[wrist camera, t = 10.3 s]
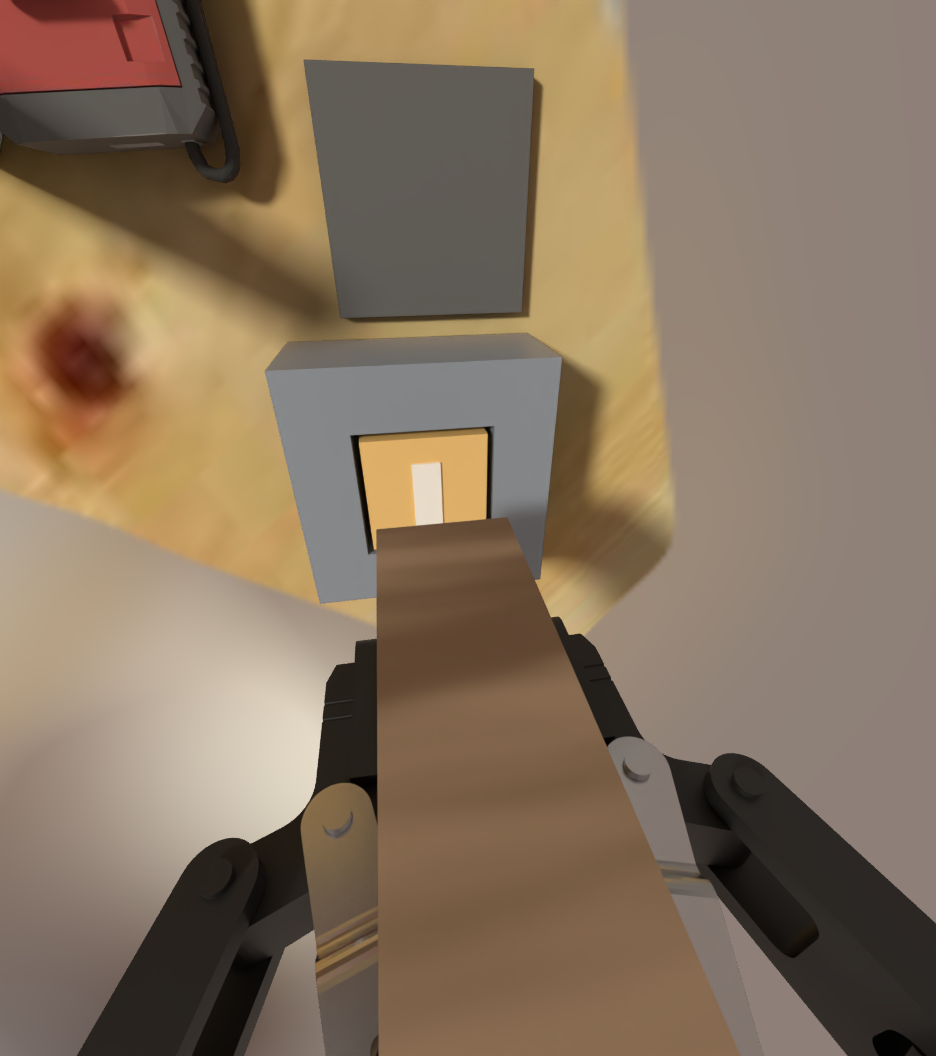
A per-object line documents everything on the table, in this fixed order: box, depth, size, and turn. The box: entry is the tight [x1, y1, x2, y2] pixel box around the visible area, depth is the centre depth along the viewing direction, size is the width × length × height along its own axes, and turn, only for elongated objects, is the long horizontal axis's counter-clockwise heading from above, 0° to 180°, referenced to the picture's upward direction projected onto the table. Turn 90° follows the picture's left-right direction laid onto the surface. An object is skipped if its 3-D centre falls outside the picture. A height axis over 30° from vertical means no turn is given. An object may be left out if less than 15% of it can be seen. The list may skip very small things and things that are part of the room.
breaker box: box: [265, 333, 562, 604], centre depth 22 cm, size 11×11×5 cm
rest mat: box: [304, 60, 534, 318], centre depth 19 cm, size 8×8×1 cm
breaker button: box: [359, 427, 488, 550], centre depth 22 cm, size 5×5×4 cm
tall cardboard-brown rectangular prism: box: [376, 517, 740, 1056], centre depth 10 cm, size 4×4×12 cm
